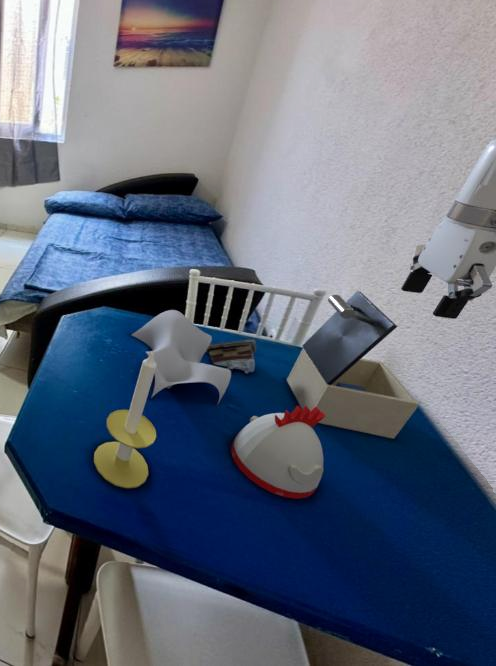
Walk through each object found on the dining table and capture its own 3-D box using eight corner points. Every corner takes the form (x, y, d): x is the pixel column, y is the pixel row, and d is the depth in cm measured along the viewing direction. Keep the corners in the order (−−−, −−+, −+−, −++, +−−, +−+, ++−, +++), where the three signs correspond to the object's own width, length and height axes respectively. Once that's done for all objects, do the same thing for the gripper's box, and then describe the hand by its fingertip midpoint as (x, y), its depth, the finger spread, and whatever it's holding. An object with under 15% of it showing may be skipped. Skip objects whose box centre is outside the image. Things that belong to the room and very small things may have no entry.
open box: (361, 394, 96) (382, 361, 91) (394, 438, 84) (419, 404, 80) (286, 379, 99) (302, 347, 95) (308, 420, 88) (327, 386, 83)
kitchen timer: (334, 499, 72) (376, 440, 65) (258, 498, 71) (292, 439, 64) (283, 435, 84) (313, 380, 77) (217, 435, 84) (242, 379, 76)
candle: (151, 454, 79) (189, 343, 66) (144, 497, 71) (186, 380, 58) (99, 435, 83) (126, 326, 70) (88, 474, 75) (115, 358, 62)
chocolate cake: (203, 368, 103) (254, 354, 95) (200, 346, 108) (248, 330, 100) (223, 387, 106) (274, 374, 99) (219, 364, 111) (267, 351, 103)
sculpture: (233, 407, 91) (248, 374, 86) (146, 397, 93) (156, 364, 88) (197, 341, 112) (207, 311, 108) (127, 334, 114) (134, 305, 110)
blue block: (351, 401, 92) (361, 386, 90) (361, 415, 89) (371, 400, 86) (329, 396, 94) (337, 382, 91) (337, 410, 90) (347, 395, 88)
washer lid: (361, 292, 86) (330, 279, 86) (398, 326, 74) (362, 311, 75) (305, 347, 94) (277, 335, 95) (330, 385, 83) (299, 372, 84)
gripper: (556, 236, 60) (486, 332, 68) (471, 203, 74) (422, 285, 82) (491, 230, 62) (431, 324, 70) (421, 199, 76) (378, 280, 84)
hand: (426, 303), depth 76 cm, fingers open, 9 cm apart
